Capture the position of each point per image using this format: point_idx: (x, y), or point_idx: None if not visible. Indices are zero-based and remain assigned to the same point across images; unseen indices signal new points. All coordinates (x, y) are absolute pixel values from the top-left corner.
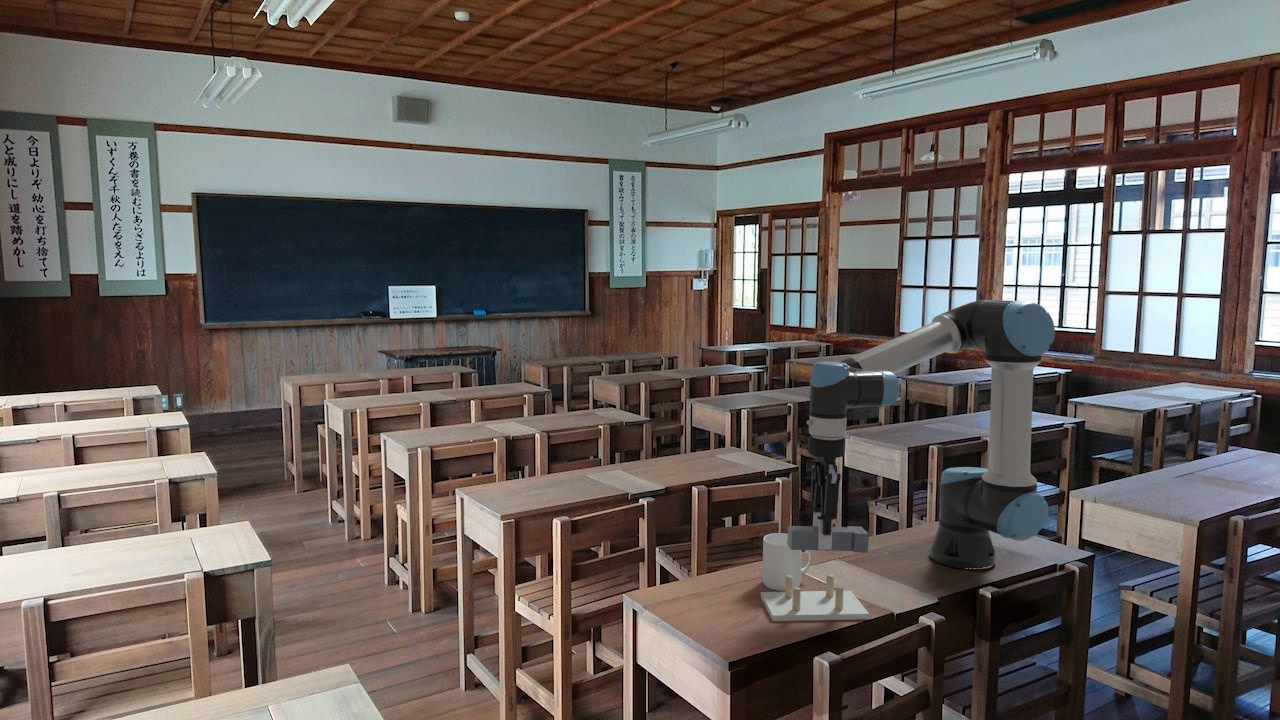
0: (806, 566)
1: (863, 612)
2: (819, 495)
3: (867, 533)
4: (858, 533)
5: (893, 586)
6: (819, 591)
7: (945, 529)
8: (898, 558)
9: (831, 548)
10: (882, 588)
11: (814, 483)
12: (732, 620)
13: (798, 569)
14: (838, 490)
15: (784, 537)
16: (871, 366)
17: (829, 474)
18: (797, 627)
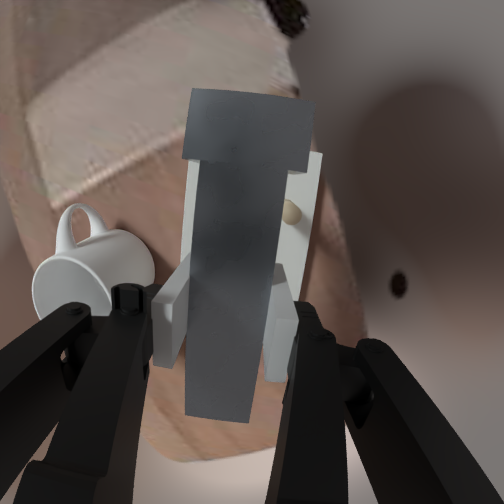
0: (89, 212)
1: (314, 162)
2: (135, 421)
3: (307, 105)
4: (307, 153)
5: (165, 33)
6: (185, 212)
7: None
8: (55, 3)
9: (282, 265)
10: (169, 57)
11: (28, 447)
12: (269, 391)
13: (129, 254)
14: (485, 476)
15: (40, 281)
16: None
17: None
18: (321, 307)
